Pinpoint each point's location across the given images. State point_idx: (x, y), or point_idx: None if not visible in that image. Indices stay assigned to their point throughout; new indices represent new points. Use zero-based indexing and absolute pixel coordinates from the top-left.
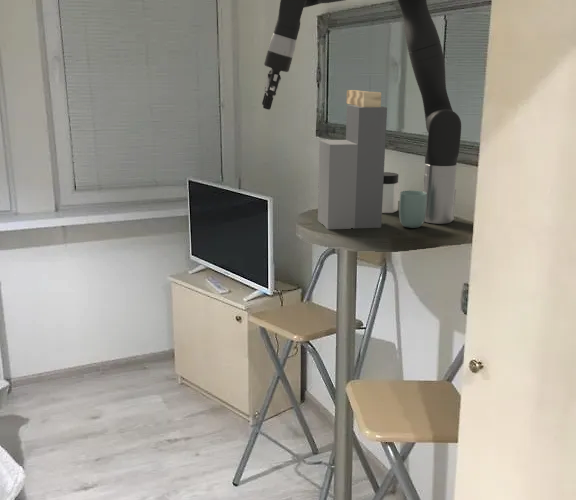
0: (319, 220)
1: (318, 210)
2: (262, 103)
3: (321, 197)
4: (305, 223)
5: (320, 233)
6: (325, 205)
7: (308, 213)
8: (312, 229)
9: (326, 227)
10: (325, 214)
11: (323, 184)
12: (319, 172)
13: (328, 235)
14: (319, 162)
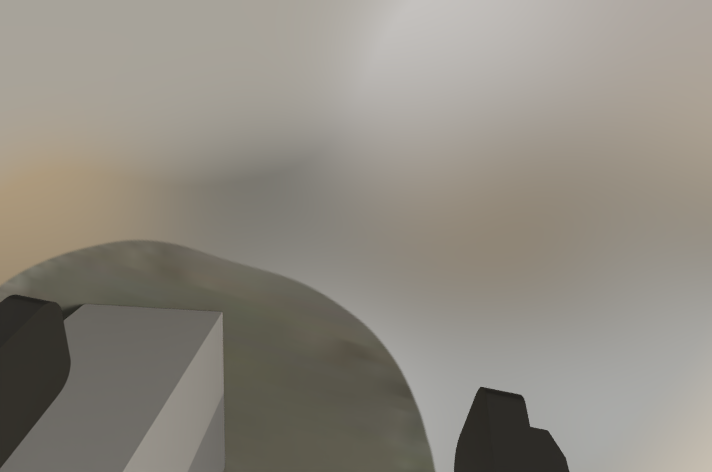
0: (194, 312)
1: (202, 327)
2: (483, 397)
3: (139, 353)
4: (180, 259)
5: (32, 266)
6: (82, 340)
7: (338, 312)
8: (89, 257)
9: (98, 305)
10: (95, 324)
11: (82, 383)
12: (143, 412)
13: (5, 283)
14: (126, 445)
